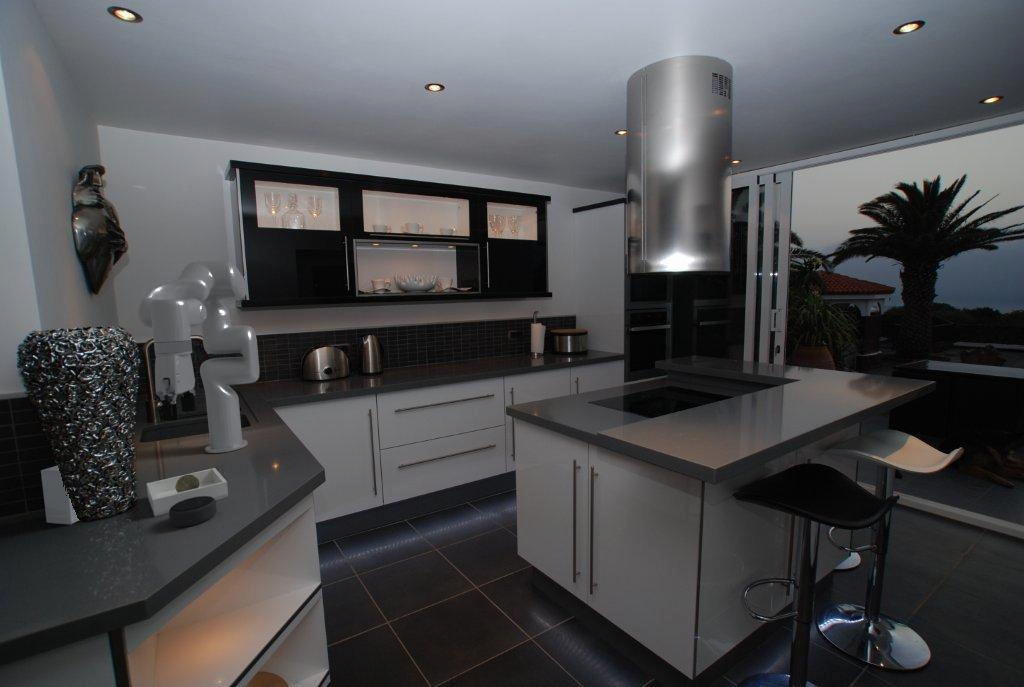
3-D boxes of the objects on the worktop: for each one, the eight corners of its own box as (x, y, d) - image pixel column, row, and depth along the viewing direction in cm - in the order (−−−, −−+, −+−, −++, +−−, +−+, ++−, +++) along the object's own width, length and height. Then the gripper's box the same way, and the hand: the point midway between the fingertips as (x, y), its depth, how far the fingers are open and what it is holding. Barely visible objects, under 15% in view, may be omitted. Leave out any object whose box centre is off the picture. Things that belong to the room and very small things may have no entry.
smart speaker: (199, 528, 101) (198, 510, 101) (160, 529, 101) (158, 512, 101) (225, 510, 110) (224, 494, 110) (189, 511, 110) (187, 495, 110)
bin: (148, 498, 119) (146, 483, 118) (216, 481, 129) (214, 467, 128) (154, 516, 108) (152, 500, 107) (228, 496, 118) (226, 481, 117)
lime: (203, 491, 120) (201, 472, 119) (184, 499, 115) (182, 479, 115) (192, 489, 121) (190, 471, 121) (172, 496, 117) (170, 477, 117)
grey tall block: (70, 525, 105) (64, 471, 104) (45, 523, 106) (39, 469, 105) (105, 510, 112) (99, 460, 111) (81, 509, 113) (75, 459, 112)
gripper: (173, 346, 123) (180, 409, 124) (136, 352, 106) (144, 425, 107) (205, 344, 124) (211, 407, 126) (173, 351, 107) (180, 422, 109)
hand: (180, 415), depth 117 cm, fingers open, 9 cm apart
